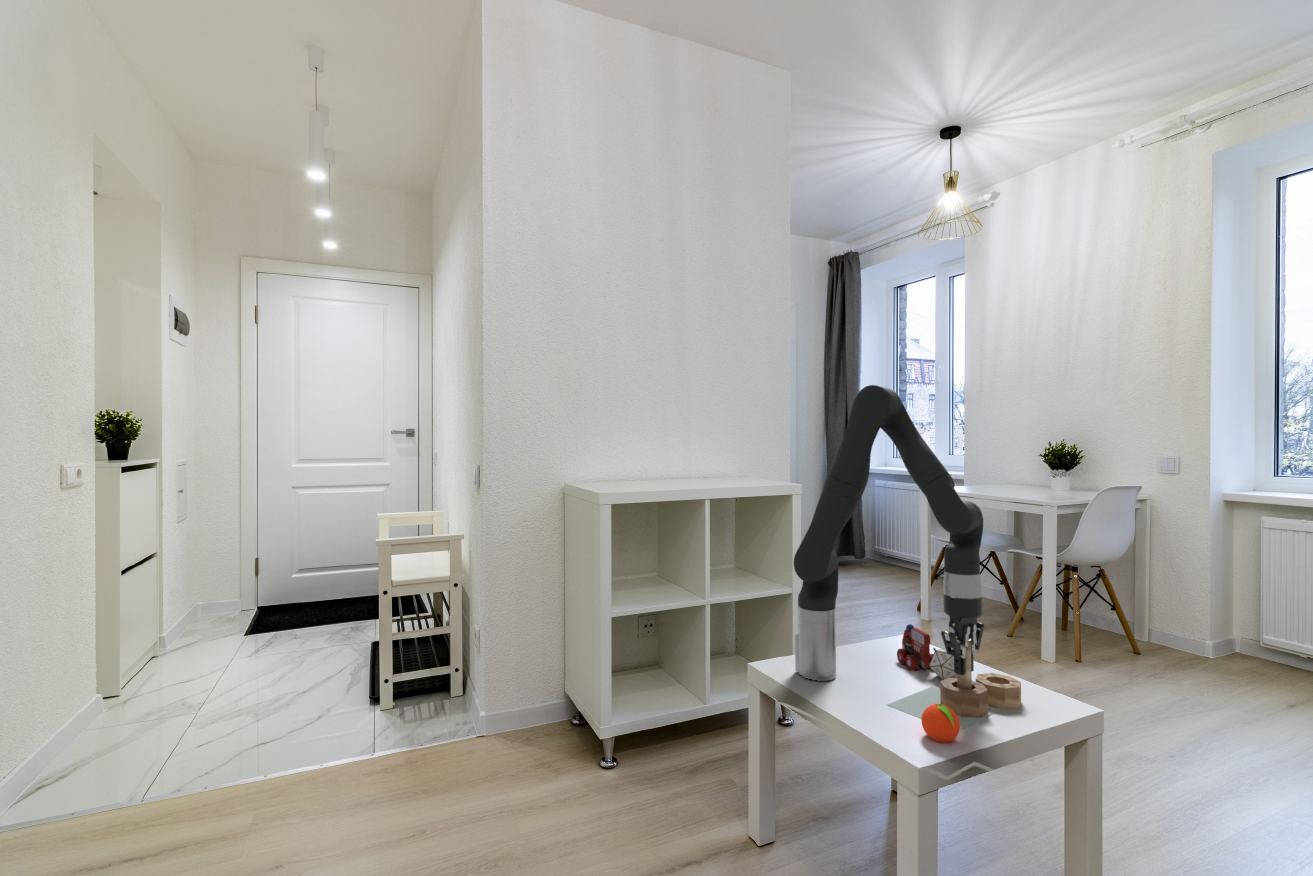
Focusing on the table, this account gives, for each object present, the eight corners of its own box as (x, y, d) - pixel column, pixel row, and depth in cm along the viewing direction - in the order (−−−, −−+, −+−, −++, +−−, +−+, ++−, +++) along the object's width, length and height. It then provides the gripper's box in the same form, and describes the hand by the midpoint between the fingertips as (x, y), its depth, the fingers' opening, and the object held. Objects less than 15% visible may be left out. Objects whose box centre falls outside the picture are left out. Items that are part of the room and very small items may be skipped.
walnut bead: (934, 706, 136) (933, 683, 136) (955, 697, 141) (955, 675, 141) (972, 720, 129) (972, 696, 129) (993, 710, 134) (993, 687, 134)
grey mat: (886, 707, 137) (886, 704, 137) (932, 689, 147) (932, 686, 147) (956, 735, 124) (956, 732, 124) (1001, 712, 134) (1001, 709, 134)
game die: (955, 698, 151) (974, 674, 145) (920, 683, 153) (938, 658, 147) (953, 669, 158) (972, 645, 153) (920, 655, 160) (937, 631, 154)
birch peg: (955, 696, 135) (954, 640, 135) (961, 692, 137) (960, 638, 137) (967, 700, 133) (966, 643, 133) (974, 697, 134) (973, 641, 135)
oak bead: (974, 704, 138) (973, 682, 138) (979, 692, 145) (979, 670, 145) (1018, 714, 133) (1018, 690, 133) (1022, 700, 140) (1021, 678, 140)
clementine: (971, 750, 117) (971, 713, 117) (937, 753, 116) (937, 715, 117) (946, 731, 125) (946, 696, 125) (914, 734, 124) (914, 698, 125)
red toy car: (917, 658, 169) (917, 620, 169) (941, 675, 157) (941, 633, 157) (893, 659, 168) (892, 620, 169) (915, 675, 156) (914, 634, 156)
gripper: (962, 585, 142) (964, 661, 142) (928, 594, 134) (929, 674, 134) (996, 591, 136) (997, 670, 136) (962, 601, 128) (963, 685, 128)
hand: (963, 672), depth 135 cm, fingers closed on birch peg, 2 cm apart
